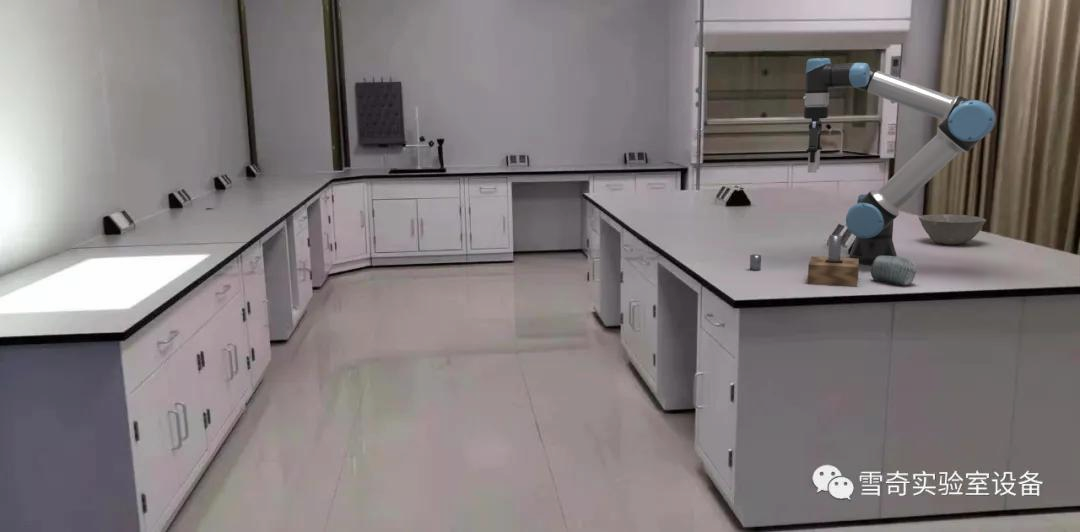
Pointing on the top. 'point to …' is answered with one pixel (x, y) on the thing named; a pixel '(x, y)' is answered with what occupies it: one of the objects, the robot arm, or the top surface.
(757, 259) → the short pin
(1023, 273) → the top surface
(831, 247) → the long pin
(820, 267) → the socket block
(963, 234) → the ceramic bowl
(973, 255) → the top surface
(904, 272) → the spool
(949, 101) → the robot arm
